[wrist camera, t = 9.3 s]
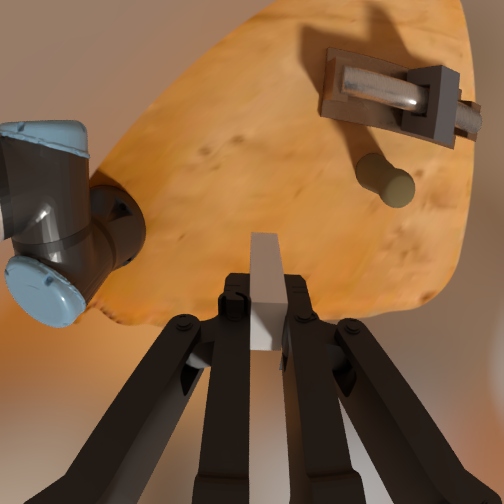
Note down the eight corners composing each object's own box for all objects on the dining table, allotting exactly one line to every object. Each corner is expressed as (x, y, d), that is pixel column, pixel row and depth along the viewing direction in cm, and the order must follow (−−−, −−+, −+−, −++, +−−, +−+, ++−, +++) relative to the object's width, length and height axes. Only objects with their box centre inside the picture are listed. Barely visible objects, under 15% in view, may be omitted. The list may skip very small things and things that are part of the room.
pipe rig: (320, 116, 39) (333, 118, 31) (327, 48, 34) (341, 35, 26) (451, 148, 39) (480, 159, 32) (459, 89, 34) (490, 91, 26)
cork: (361, 148, 41) (389, 162, 31) (394, 160, 41) (428, 177, 32) (350, 184, 44) (374, 207, 34) (383, 194, 44) (412, 219, 34)
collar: (400, 130, 38) (433, 139, 29) (407, 70, 33) (441, 65, 24) (416, 134, 38) (451, 145, 29) (423, 75, 33) (459, 73, 24)
